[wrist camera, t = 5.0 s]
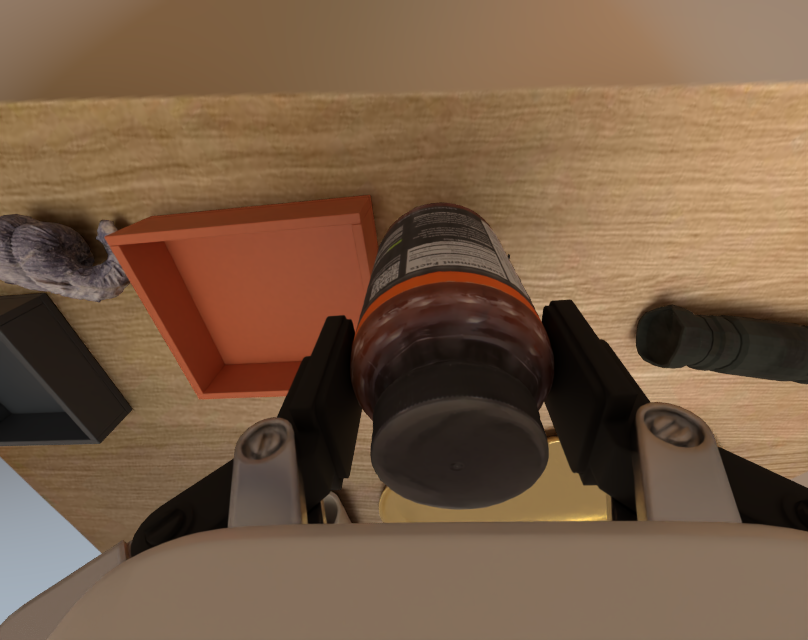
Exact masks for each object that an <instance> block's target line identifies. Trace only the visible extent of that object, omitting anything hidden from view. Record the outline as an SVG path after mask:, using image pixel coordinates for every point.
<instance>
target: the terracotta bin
mask: <svg viewBox="0 0 808 640" xmlns="http://www.w3.org/2000/svg"><path fill="white" fill-rule="evenodd" d="M104 238H105V239H106V241H107V243H108V245H109V246H110V248H111V250H112V252H113V253H114V255H115V257H116V258H117V260H118V262H119V264H120V265H121V267H122V269H123V270H124V272H125V274H126V275H127V277H128V279H129V281H130V282H131V284H132V286H133V287H134V289H135V291H136V292H137V294H138V296H139V298H140V299H141V301H142V303H143V304H144V306H145V308H146V309H147V311H148V313H149V315H150V316H151V318H152V320H153V321H154V323H155V325H156V326H157V328H158V330H159V332H160V333H161V335H162V337H163V338H164V340H165V342H166V343H167V345H168V347H169V349H170V350H171V352H172V354H173V355H174V357H175V359H176V360H177V362H178V364H179V366H180V367H181V369H182V371H183V372H184V374H185V376H186V378H187V379H188V381H189V383H190V384H191V386H192V388H193V389H194V391H195V393H196V394H197V396H198V398H199V399H222V398H249V397H276V396H287V393H288V391H289V389H290V387H291V384H292V382H293V380H294V377H295V375H296V373H297V371H298V368H299V366H300V364H301V362H302V360H303V358H304V357H306V356H311V354H312V351H313V349H314V347H315V344H316V342H317V339H318V337H319V335H320V332H321V330H322V327H323V325H324V323H325V320H326V318H327V317H328V316H338V315H345V316H346V318H347V319H351V320H352V322H353V326H354V330H355V333H356V329H357V325H358V322H359V318H360V314H361V311H362V307H363V303H364V299H365V296H366V292H367V288H368V285H369V281H370V277H371V274H372V270H373V267H374V263H375V259H376V256H377V252H378V249H379V248H378V242H377V235H376V229H375V222H374V215H373V209H372V202H371V196H370V195H363V196H353V197H342V198H332V199H322V200H312V201H302V202H292V203H281V204H271V205H261V206H251V207H241V208H231V209H221V210H210V211H200V212H190V213H180V214H170V215H160V216H151V217H148V218H146V219H144V220H141V221H139V222H137V223H134V224H132V225H130V226H127V227H125V228H123V229H120V230H118V231H116V232H113V233H111V234H109V235H106V236H105V237H104Z"/></svg>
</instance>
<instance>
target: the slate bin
mask: <svg viewBox="0 0 808 640" xmlns="http://www.w3.org/2000/svg"><path fill="white" fill-rule="evenodd" d="M131 411H132V408H131V407H130V406H129V404H128V403H127V401H126V400H125V399H124V397H123V396H122V395H121V393H120V392H119V391H118V389H117V388H116V387H115V385H114V384H113V383H112V381H111V380H110V379H109V377H108V376H107V375H106V373H105V372H104V371H103V369H102V368H101V367H100V365H99V364H98V363H97V361H96V360H95V359H94V357H93V356H92V355H91V353H90V352H89V351H88V349H87V348H86V347H85V345H84V344H83V343H82V341H81V340H80V339H79V337H78V336H77V335H76V333H75V332H74V331H73V329H72V328H71V327H70V325H69V324H68V323H67V321H66V320H65V319H64V317H63V316H62V315H61V313H60V312H59V311H58V309H57V308H56V307H55V305H54V304H53V303H52V301H51V300H50V298H49V297H48V296H47V294H46V293H38V294H25V295H12V296H0V446H26V445H70V444H100V443H101V442H102V441H103V440H104V439H105V438H106V437H107V436H108V435H109V434H110V433H111V432H112V431H113V430H114V429H115V427H116V426H117V425H118V424H119V423H120V422H121V421H122V420H123V419H124V418H125V417H126V416H127V415H128V414H129V413H130V412H131Z"/></svg>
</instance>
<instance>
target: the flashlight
mask: <svg viewBox="0 0 808 640" xmlns="http://www.w3.org/2000/svg"><path fill="white" fill-rule="evenodd" d="M636 347H637V351H638V354H639V355H640V356H641V357H642V359H643V360H644V361H646V362H648V363H650V364H652V365H654V366H658V367H662V368H682V367H684V366H686V365H687V366H688V367H689V368H693V369H696V370H704V371H706V370H710V371H714V372H718V373H724V374H731V375H739V376H746V377H753V378H761V379H768V380H776V381H793V382H797V383H801V384H808V326H804V325H803V326H800V325H797V324H793V323H785V322H777V321H769V320H761V319H753V318H745V317H737V316H728V315H720V316H714V315H710V316H706V315H695V314H693V312H691V311H689V310H687V309H685V308H681V307H678V306H675V305H668V306H664V307H660V308H657V309H654V310H652V311H649V312H646V313H645V314H644V315H643V316H642V318H641V319H640V320H639V323H638V327H637V332H636Z"/></svg>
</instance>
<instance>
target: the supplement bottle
mask: <svg viewBox="0 0 808 640" xmlns="http://www.w3.org/2000/svg"><path fill="white" fill-rule="evenodd" d="M509 258H510V255H509V254H508V256H507V255H506V252H505V251H504V249H503V247H502V245H501V243H500V241H499V239H498V238H497V236H496V234H495V233H494V232H493V230H492V229H491V227H490V225H489V224H488V223H487V222H486V221H485V220H484V219H483V218H482V217H480V216H479V215H478V214H477V213H475V212H474V211H472V210H470V209H468V208H466V207H463V206H460V205H456V204H452V203H431V204H425V205H422V206H419V207H416V208H414V209H412V210H411V211H409V212H407V213H405V214H404V215H402V216H401V217H400V218H398V220H397V221H395V222H394V223H393V225H392V226H391V227H390V228H389V229H388V231H387V233H386V234H385V236H384V238H383V240H382V242H381V244H380V246H379V249H378V252H377V256H376V259H375V263H374V267H373V270H372V274H371V277H370V281H369V285H368V288H367V292H366V296H365V299H364V303H363V307H362V311H361V314H360V318H359V322H358V325H357V329H356V333H355V337H354V341H353V344H352V350H351V361H350V378H351V383H352V386H353V390H354V392H355V395H356V398H357V400H358V402H359V405H360V406H361V407H362V409H363V410H364V412H365V413H366V414H367V415H368V416H369V417H370V418H371V420H372V421H373V433H372V443H371V462H372V466H373V468H374V470H375V472H376V474H377V475H378V477H379V478H380V480H381V481H382V482H383V483H384V484H386V485H387V486H388V487H389V488H390V489H391V490H392V491H394V492H395V493H397V494H398V495H400V496H402V497H403V498H405V499H408V500H411V501H413V502H415V503H418V504H422V505H427V506H431V507H437V508H443V509H477V508H485V507H489V506H492V505H496V504H500V503H503V502H505V501H507V500H509V499H512V498H514V497H516V496H518V495H520V494H522V493H523V492H525V491H526V490H527V489H529V488H531V487H532V486H533V485H534V484H535V482H536V481H537V480H538V479H539V478H540V476H541V475H542V473H543V472H544V470H545V468H546V466H547V463H548V459H549V447H548V439H547V437H546V433H545V431H544V428H543V425H542V422H541V420H540V414H539V409H540V408H541V406H542V404H543V402H544V400H545V399H546V398H547V396H548V394H549V392H550V390H551V387H552V383H553V379H554V366H555V362H554V354H553V350H552V347H551V344H550V340H549V338H548V335H547V332H546V330H545V328H544V326H543V324H542V322H541V320H540V318H539V316H538V314H537V312H536V311H535V308H534V306H533V304H532V302H531V299H530V297H529V295H528V294H527V292H526V290H525V288H524V286H523V285H522V283H521V280H520V278H519V276H518V275H517V273H516V272H515V269H514V267H513V266H512V264H511V262H510V260H509Z"/></svg>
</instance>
